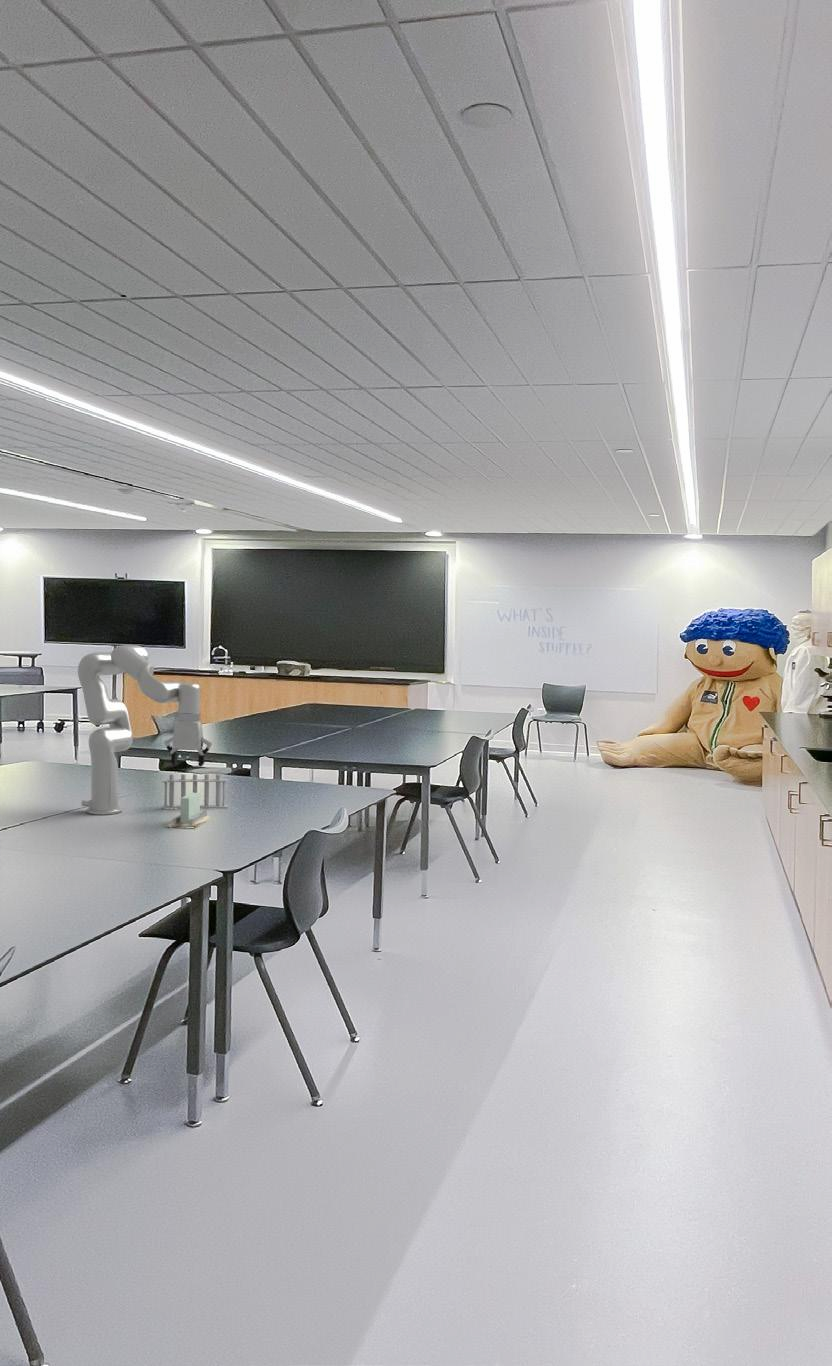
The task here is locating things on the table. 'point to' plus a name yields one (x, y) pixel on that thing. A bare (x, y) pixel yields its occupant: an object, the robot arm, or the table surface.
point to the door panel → (189, 807)
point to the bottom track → (191, 820)
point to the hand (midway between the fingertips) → (187, 765)
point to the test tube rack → (195, 790)
